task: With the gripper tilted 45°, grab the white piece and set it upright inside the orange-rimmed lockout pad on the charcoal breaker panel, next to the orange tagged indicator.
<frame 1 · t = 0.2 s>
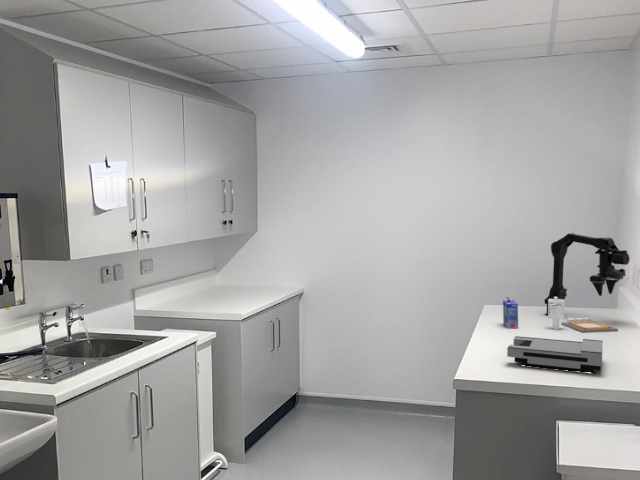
hand: (605, 294, 288), 15 cm above the table, tool pointing down, fingers open, 9 cm apart
breaker panel: (589, 328, 279), on the table
game console: (555, 364, 223), on the table
ink cartridge box: (510, 326, 287), on the table
white piece: (555, 329, 280), on the table
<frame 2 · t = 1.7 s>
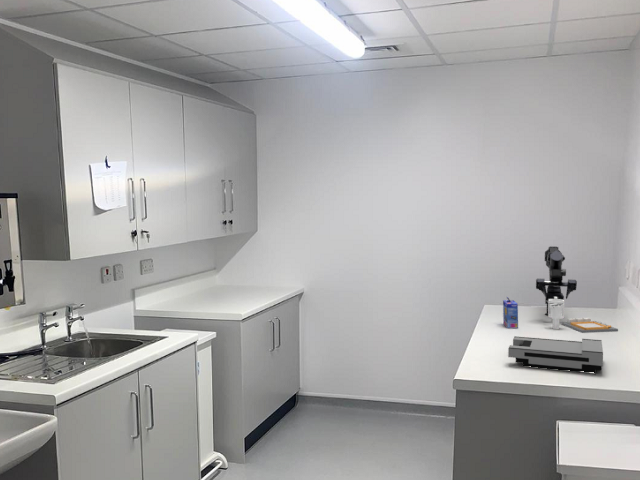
hand: (556, 298, 287), 13 cm above the table, tool tilted 45°, fingers open, 9 cm apart
nothing on the table moved.
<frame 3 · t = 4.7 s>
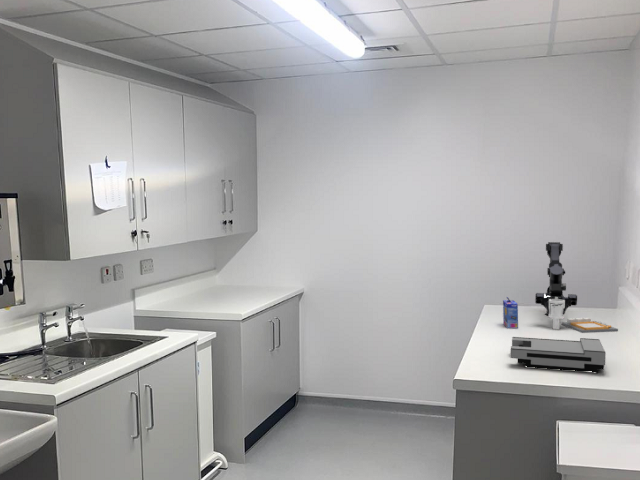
hand: (556, 313, 278), 8 cm above the table, tool tilted 45°, fingers closed on white piece, 6 cm apart
white piece: (555, 329, 280), on the table, touching gripper
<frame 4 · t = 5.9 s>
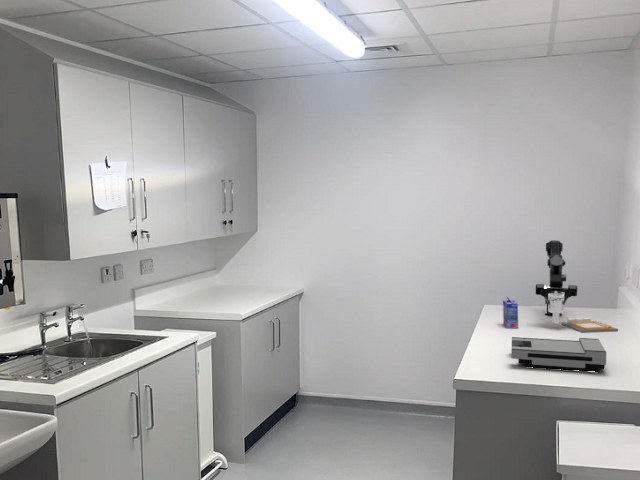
hand: (556, 304, 278), 12 cm above the table, tool tilted 45°, fingers closed on white piece, 6 cm apart
white piece: (555, 323, 280), point 3 cm above the table, touching gripper
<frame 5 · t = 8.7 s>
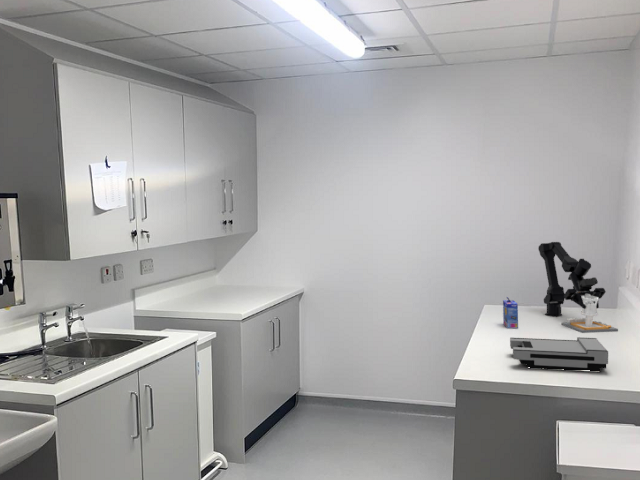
hand: (591, 308, 277), 10 cm above the table, tool tilted 45°, fingers closed on white piece, 6 cm apart
white piece: (588, 326, 280), point 1 cm above the table, touching breaker panel, gripper
when the fingers open (10 cm above the table, at t = 9.3 s): white piece stays where it is, resting on breaker panel.
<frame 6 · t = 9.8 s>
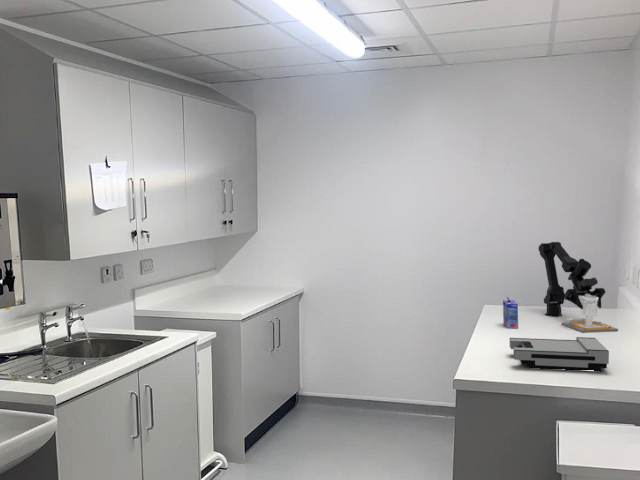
hand: (591, 308, 277), 10 cm above the table, tool tilted 45°, fingers open, 9 cm apart
white piece: (588, 326, 280), point 1 cm above the table, touching breaker panel
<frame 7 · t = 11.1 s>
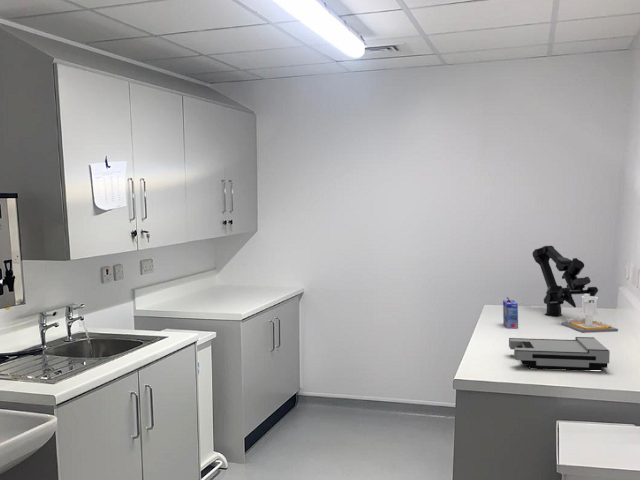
hand: (584, 306, 283), 10 cm above the table, tool tilted 45°, fingers open, 9 cm apart
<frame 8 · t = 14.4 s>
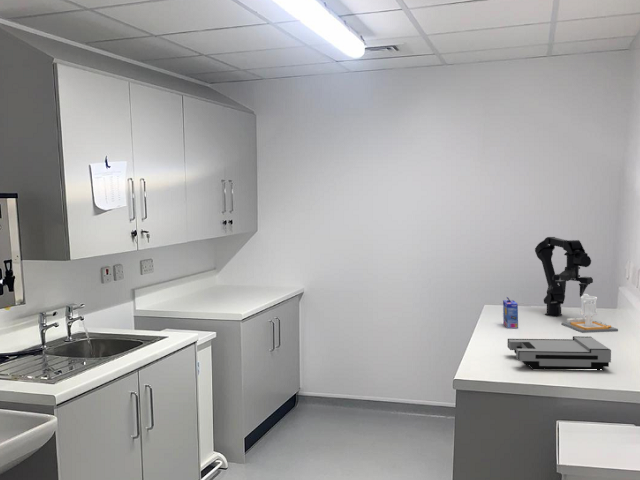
hand: (572, 295, 296), 13 cm above the table, tool pointing down, fingers open, 9 cm apart
at the end: white piece inside the target area on the breaker panel (0.5 cm from its centre), point 1.1 cm above the breaker panel's base; white piece tilted 1°; the gripper is holding nothing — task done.
